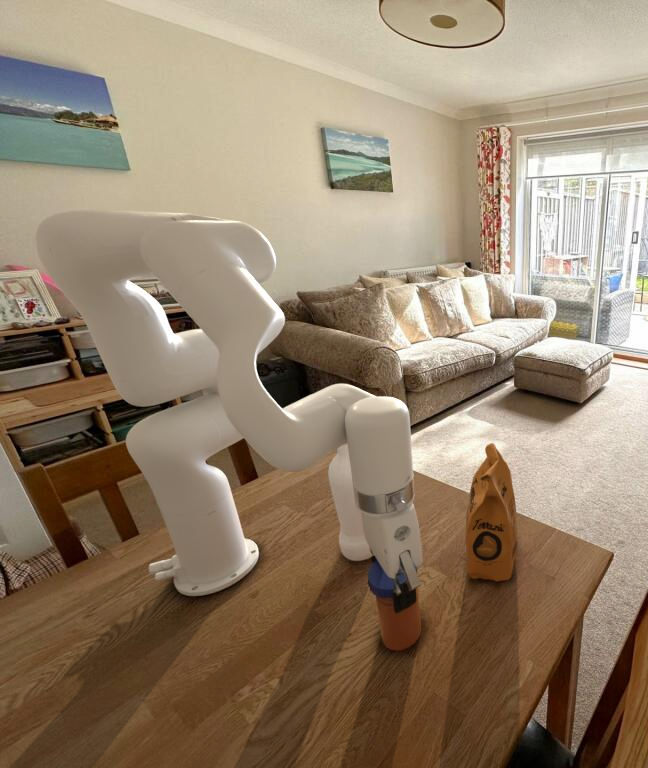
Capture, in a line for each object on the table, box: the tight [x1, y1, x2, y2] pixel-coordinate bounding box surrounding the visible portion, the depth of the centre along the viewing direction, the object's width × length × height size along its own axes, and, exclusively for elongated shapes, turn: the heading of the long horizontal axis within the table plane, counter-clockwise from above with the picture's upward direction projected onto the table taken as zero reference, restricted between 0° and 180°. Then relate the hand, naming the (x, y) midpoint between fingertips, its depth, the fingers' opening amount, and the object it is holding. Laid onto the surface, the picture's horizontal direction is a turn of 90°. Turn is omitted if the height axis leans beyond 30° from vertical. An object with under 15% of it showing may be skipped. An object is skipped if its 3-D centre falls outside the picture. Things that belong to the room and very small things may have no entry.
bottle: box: [327, 444, 374, 562], centre depth 73 cm, size 8×8×30 cm
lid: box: [367, 560, 418, 598], centre depth 59 cm, size 7×7×2 cm
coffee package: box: [464, 442, 518, 583], centre depth 73 cm, size 10×12×22 cm
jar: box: [375, 587, 422, 651], centre depth 61 cm, size 6×6×10 cm
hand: (394, 588), depth 60 cm, fingers closed on lid, 6 cm apart
